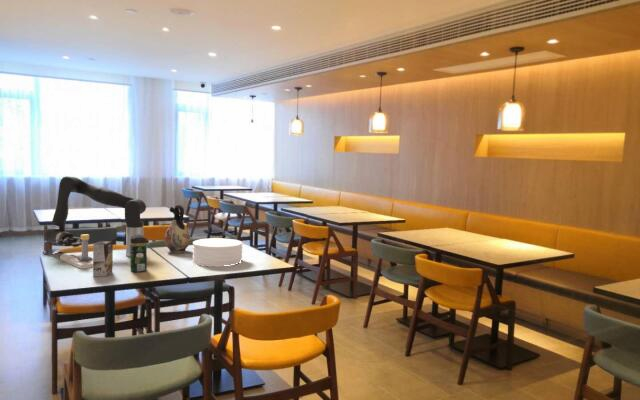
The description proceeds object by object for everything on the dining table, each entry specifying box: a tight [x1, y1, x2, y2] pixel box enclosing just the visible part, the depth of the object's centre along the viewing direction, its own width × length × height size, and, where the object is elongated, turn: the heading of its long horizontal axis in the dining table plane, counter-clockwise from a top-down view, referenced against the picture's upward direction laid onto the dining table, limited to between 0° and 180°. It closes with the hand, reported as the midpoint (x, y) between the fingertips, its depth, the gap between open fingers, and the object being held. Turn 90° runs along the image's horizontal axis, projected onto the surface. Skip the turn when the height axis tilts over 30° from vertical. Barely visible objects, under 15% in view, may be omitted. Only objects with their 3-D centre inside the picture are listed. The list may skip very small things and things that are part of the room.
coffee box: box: [92, 240, 114, 277], centre depth 234 cm, size 9×6×16 cm
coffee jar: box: [129, 234, 148, 273], centre depth 245 cm, size 10×8×19 cm
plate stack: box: [191, 237, 243, 267], centre depth 274 cm, size 28×28×12 cm
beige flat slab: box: [59, 253, 93, 270], centre depth 256 cm, size 28×11×2 cm, turn 48°
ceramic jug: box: [164, 204, 191, 254], centre depth 294 cm, size 17×15×30 cm
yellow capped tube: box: [78, 233, 93, 261], centre depth 252 cm, size 4×6×14 cm
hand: (76, 242), depth 259 cm, fingers open, 8 cm apart
